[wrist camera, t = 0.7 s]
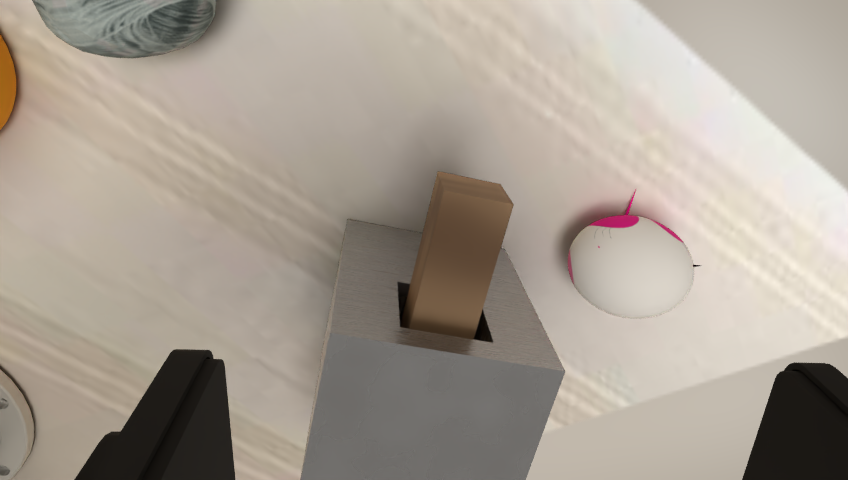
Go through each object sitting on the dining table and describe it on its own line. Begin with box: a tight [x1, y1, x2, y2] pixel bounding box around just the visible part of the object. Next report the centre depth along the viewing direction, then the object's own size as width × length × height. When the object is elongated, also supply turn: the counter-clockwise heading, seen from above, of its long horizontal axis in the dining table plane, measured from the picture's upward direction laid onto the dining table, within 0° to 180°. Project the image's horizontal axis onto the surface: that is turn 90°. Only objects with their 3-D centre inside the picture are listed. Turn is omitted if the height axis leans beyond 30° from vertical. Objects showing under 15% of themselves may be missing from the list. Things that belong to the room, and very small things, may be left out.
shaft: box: [400, 171, 513, 339], centre depth 30 cm, size 19×3×3 cm, turn 167°
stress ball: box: [568, 190, 700, 319], centre depth 37 cm, size 8×8×7 cm
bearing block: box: [300, 219, 565, 480], centre depth 32 cm, size 8×10×14 cm
